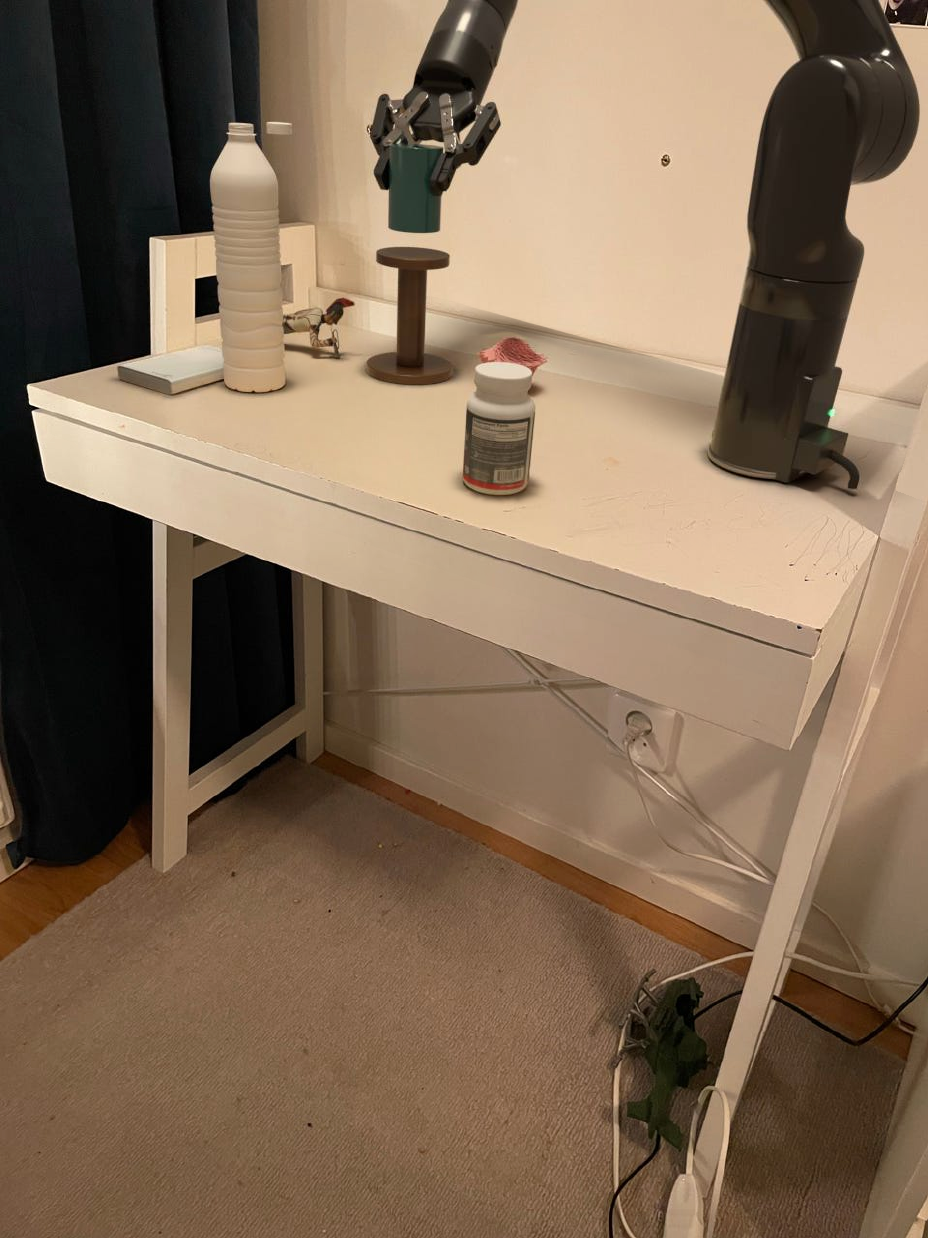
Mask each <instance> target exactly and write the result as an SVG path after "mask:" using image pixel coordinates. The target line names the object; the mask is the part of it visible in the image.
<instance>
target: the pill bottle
mask: <svg viewBox="0 0 928 1238" xmlns="http://www.w3.org/2000/svg"><path fill="white" fill-rule="evenodd" d="M473 374H474V375H473V384H474V385H475V387H476V391H474V392H473V393H472V394H470V395H469V397H468V398H467V403H466V409H465V410H466V411H465V412H466V413H465V429H464V445H463V446H464V447H463V461H462V462H463V464H462V479H463V482H464V484H465V485H466V486H467V487H468V488H470V489H472V490H473V491H476V492H478V493H481V494H485V495H490V496H507V495H513V494H517V493H519V492H522V491H524V489H525V488H527V486H528V484H529V481H530V472H531V471H530V470H531V463H532V462H531V460H532V450H533V441H534V428H535V418H536V403H535V401H534V398H533V397H532V396H531V395H530V394H529V393H528V392H529V391H530V389H531V387H532V381H533V376H532V371H531V370H530V369H529V368H527V367H525V366H522V365H519V364H515V363H508V362H487V363H483V362H482V363H479V364H477V365H476V366H475V367H474V373H473Z"/></svg>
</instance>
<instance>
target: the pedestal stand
mask: <svg viewBox="0 0 928 1238" xmlns="http://www.w3.org/2000/svg"><path fill="white" fill-rule="evenodd" d="M375 253H376V254H375V258H376V259H375V262H376V263H377V264H379V265H381V266H384V267H388V268H393V269H397V299H396V301H397V302H396V306H397V307H396V346H395V347H396V348H395V349H396V350H395V351H392V352H390V351H389V352H384V353H379V354H375V355H372V356H371V357H369V358H368V359H367V360H366V364H365V365H366V373H367V374H368V375H369V376H370V377H372V378H374V379H377V380H380V381H383V382H387V383H391V384H392V383H393V384H397V385H398V384H400V385H411V386H412V385H413V386H414V385H415V386H416V385H418V386H419V385H421V386H422V385H432V384H438V383H442V382H445V381H447V380H449V379H451V378H452V377H453V375H454V364H453V363H452V361H450V360H448V359H446V358H445V357H442V356H439V355H435V354H430V353H425V348H426V347H425V346H426V345H425V344H426V319H427V318H426V317H427V291H428V290H427V289H428V271H435V270H441V269H446V268H448V267H449V266H450V261H451V256H450V254H449V253H448V252H445V251H443V250H439V249H434V248H429V247H428V248H427V247H417V246H389V247H383V248H379V249H377V250H376V251H375Z"/></svg>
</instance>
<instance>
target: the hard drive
mask: <svg viewBox="0 0 928 1238" xmlns="http://www.w3.org/2000/svg"><path fill="white" fill-rule="evenodd" d="M223 361H224V358H223V355H222V347H218V346H213V345H210V344H203V345H199V346H195V347H191V348H187V349H182V350H178V351H173V352H169V353H165V354H161V355H158V356H157V355H156V356H153V357H149V358H145V359H141V360H137V361H133V362H129V363H124V364H120V365H117V367H116V369H117V377H118V379H120V380H122V381H124V382H128V383H130V384H134V385H137V386H141V387H144V388H148V389H149V390H153V391H157V392H160V393H163V394H167V395H175V394H177V393H180V392H184V391H188V390H191V389H194V388H197V387H201V386H204V385H208V384H211V383H214V382H217V381H221V380H224V371H223Z"/></svg>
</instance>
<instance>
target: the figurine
mask: <svg viewBox="0 0 928 1238" xmlns="http://www.w3.org/2000/svg"><path fill="white" fill-rule="evenodd" d="M355 305H356V304H355V302H354V301H353V300H351V299H348V298H345V297H340V298H336V299H335V300H334V301H333V302H331V304H330V305H329V306H328V307H327V308H326V310H325V313H324V312H323V309H322V308H321V307H313V308H304V309H300V310H297V311H295V312H294V313H285V314H283V323H282V326H283V329H284V335H289V334H295V333H297V334H299V333H309V341H310V345H311V347H312V348H326V347H333V350H334V358H337V359H338V358H340V357H341V355H340V351H339V350H340V341H339V333H338V330H337V329H335V328H334V329H332V326H333V324H334V325H335V326H337V325H338V323H339V321H340V320H341V319H342V318H343V316H344V314H345V311H344V310H345V308H350V307H355ZM323 324H326V325H327V326H330V330H331V337H329V338H326V339H319V335H320V330H321V329H320V327H321V326H322V325H323ZM335 332H336V337H335Z"/></svg>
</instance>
